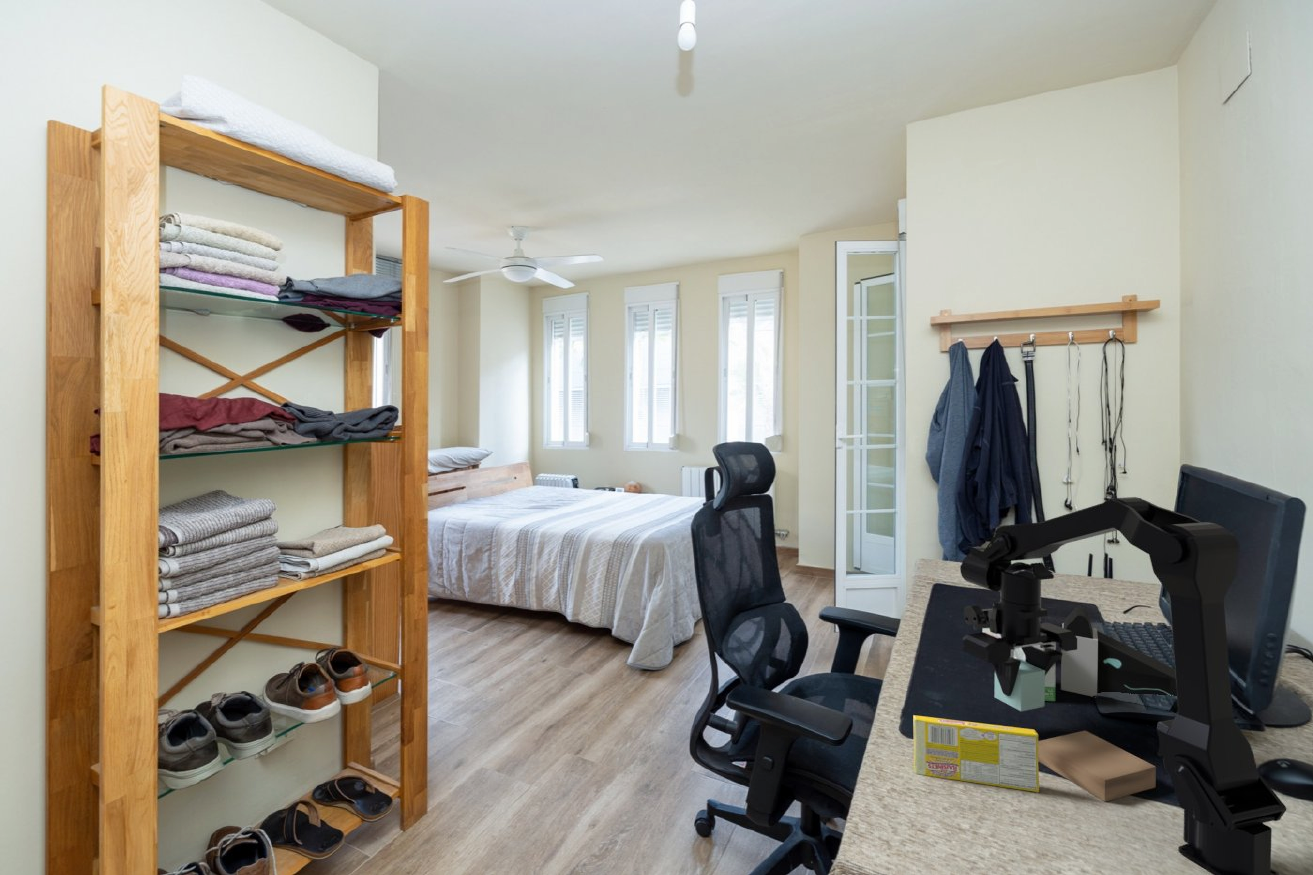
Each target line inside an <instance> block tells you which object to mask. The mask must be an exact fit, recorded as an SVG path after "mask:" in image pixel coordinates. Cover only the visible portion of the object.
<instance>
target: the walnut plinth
mask: <svg viewBox="0 0 1313 875" xmlns="http://www.w3.org/2000/svg"><path fill="white" fill-rule="evenodd" d="M1038 763H1040V764H1042V765H1044V766H1045V767H1047V768H1049V769H1050V770H1052V771H1054V772H1055V773H1056V774H1059V775H1060V776H1061V777H1063V778H1065V779H1067V780H1068V781H1070V782H1072V783H1073V784H1075V785H1076V786H1078V787H1080V788H1081V789H1083V790H1084V791H1086V792H1088V793H1089V794H1091V795H1093V796H1094V797H1096V798H1098V799H1099V800H1101V801H1103V803H1104V802H1107V801H1108V802H1109V801H1112V800H1116V799H1118V798H1122V797H1126V796H1130V795H1133V794H1137V793H1140V792H1143V791H1147V790H1152V789H1154V788H1156V786H1157V784H1156V777H1157V775H1156V774H1157V767H1156V766H1155V765H1153V764H1151V763H1149V762H1148V761H1146V760H1144V759H1141V758H1140V757H1137V756H1135V755H1134V754H1132V753H1130V752H1128V751H1126V750H1124V749H1122V748H1120V747H1118V746H1116V745H1115V744H1112V743H1111V742H1109V741H1106V740H1105V739H1103V738H1100V737H1099V736H1097V735H1095V734H1093V733H1091V732H1089V731H1088V730H1082V731H1077V732H1072V733H1068V734H1063V735H1059V736H1056V737H1054V736H1053V737H1051V738H1047V739H1042V740H1038Z"/></svg>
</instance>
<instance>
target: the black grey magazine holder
mask: <svg viewBox="0 0 1313 875" xmlns="http://www.w3.org/2000/svg"><path fill="white" fill-rule="evenodd" d="M1061 628H1064V629H1067V630H1070V631H1072V632H1073V633H1074V635H1075V636H1076V637H1077V650H1071V651H1063V650H1062V649H1061V651H1060V652H1061V653H1063V655H1062V657H1060V658H1061V664H1060V665H1061V668H1060V670H1061V671H1060V674H1061V675H1060V690H1062V691H1065V692H1070V693H1075V694H1078V695H1084V696H1087V697H1088V696H1089V697H1092V698H1094V697H1093V696H1094V695H1097V693H1101V692H1121V693H1129V694H1130V693H1131V694H1155V695H1156V694H1158V695H1170V696H1171V695H1172V696H1177V688H1176V674H1175V667H1172V666H1169V665H1168V664H1165V663H1163V662H1162V661H1159V660H1157V659H1155V658H1154V657H1151V656H1149V655H1147V654H1145V653H1143V652H1141V651H1139V650H1138V649H1136V648H1133V647H1132V646H1129V645H1128V644H1125V643H1123V642H1122V641H1119V640H1117V639H1115V638H1113V637H1111V636H1109V635H1107V634H1105V633H1103V632H1101V631H1099V630H1098V629H1097V627H1096V628H1095V627H1092V623H1091V620H1090V615H1089V612H1088V611H1087V608H1086V607H1085V606H1082V605H1078V606H1076V607H1075V608H1074V609H1073V610H1072V611H1071V612H1070V613H1069V614H1068V615H1067V617H1066V618H1065V621H1064V622H1062V627H1061Z"/></svg>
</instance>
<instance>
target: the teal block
mask: <svg viewBox="0 0 1313 875" xmlns="http://www.w3.org/2000/svg"><path fill="white" fill-rule="evenodd" d="M1017 660H1019V661H1021V663H1020V667H1019V671H1018V674H1017V677H1016V681H1015V684H1014V688H1013V691H1012V693H1011V696H1007V695H1005V694H1003V692H1002V689H1001V686H1000V683H999V681H998V678H997V675H996V673H995V672H994V698H995V699H997V700H998V701H1000V702H1003V703H1004V704H1007V705H1008V706H1010V707H1011V708H1014V709H1016V710H1018V711H1019V712H1026V711H1030V710H1035V709H1040V708H1044V707H1045V670H1042V669H1040V668H1038V667H1036V666H1033V665H1031V664H1029V663H1027V662H1024V661H1022V660H1020V659H1017Z"/></svg>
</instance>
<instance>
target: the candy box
mask: <svg viewBox="0 0 1313 875" xmlns="http://www.w3.org/2000/svg"><path fill="white" fill-rule="evenodd" d="M912 717H913V719H912V720H913V723H912V725H913V771H914V774H915V775H921V776H927V777H933V778H940V779H941V778H942V779H947V780H952V781H953V780H955V781H961V782H967V783H975V784H980V785H987V786H993V787H1001V788H1007V789H1013V790H1020V791H1026V792H1033V793H1039V792H1040V776H1039V770H1040V769H1039V761H1038V741H1039V734H1038V732H1037V731H1036V730H1035V729H1032V728H1022V727H1015V726H1006V725H999V724H992V723H991V724H989V723H982V722H975V721H974V722H973V721H972V722H971V721H964V720H957V719H948V718H941V717H932V716H931V717H930V716H923V715H914V714H913V716H912Z"/></svg>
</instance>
